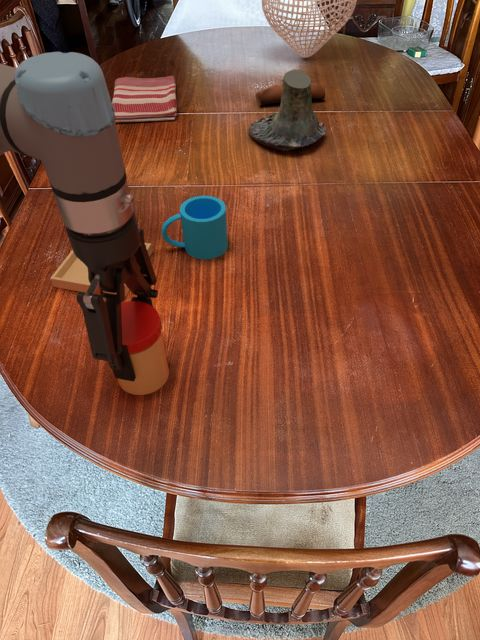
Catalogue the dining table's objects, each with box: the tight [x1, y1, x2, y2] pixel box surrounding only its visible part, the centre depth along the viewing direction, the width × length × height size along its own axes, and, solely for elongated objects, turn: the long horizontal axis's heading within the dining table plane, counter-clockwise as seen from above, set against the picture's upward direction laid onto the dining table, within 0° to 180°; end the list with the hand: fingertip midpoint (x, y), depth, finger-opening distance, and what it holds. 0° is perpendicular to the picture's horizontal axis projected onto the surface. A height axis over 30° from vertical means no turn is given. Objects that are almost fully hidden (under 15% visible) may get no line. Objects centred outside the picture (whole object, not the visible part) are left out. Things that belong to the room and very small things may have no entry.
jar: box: [116, 334, 170, 396], centre depth 72 cm, size 8×8×10 cm
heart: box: [261, 0, 357, 58], centre depth 150 cm, size 28×16×22 cm, turn 102°
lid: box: [121, 300, 163, 354], centre depth 68 cm, size 8×8×2 cm
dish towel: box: [111, 75, 178, 123], centre depth 135 cm, size 17×23×3 cm
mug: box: [161, 195, 229, 260], centre depth 93 cm, size 12×8×8 cm
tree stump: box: [248, 69, 327, 152], centre depth 119 cm, size 18×20×18 cm
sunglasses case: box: [255, 82, 326, 107], centre depth 137 cm, size 18×7×7 cm
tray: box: [49, 242, 153, 298], centre depth 91 cm, size 13×13×2 cm
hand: (137, 353), depth 72 cm, fingers closed on lid, 8 cm apart
